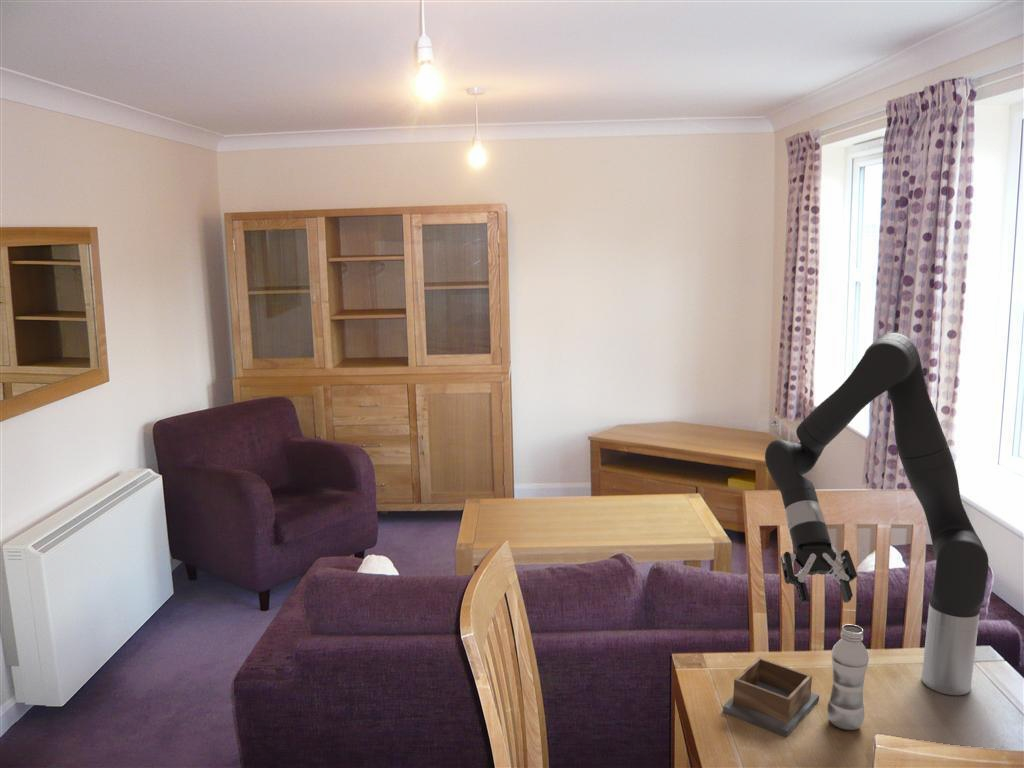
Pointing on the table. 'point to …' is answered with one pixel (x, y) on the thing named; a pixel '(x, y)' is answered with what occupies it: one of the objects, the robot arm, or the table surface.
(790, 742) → the table surface
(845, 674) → the metal bottle
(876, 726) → the table surface
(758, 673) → the bottle holder
